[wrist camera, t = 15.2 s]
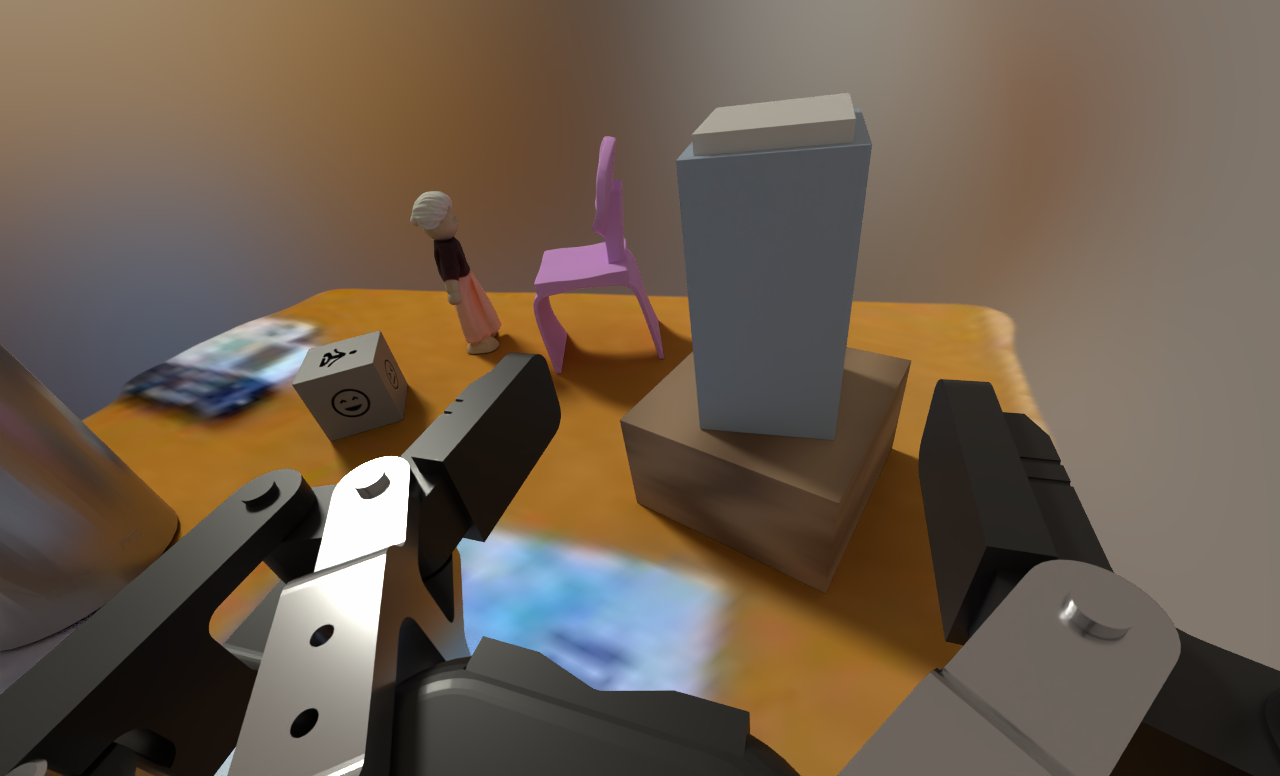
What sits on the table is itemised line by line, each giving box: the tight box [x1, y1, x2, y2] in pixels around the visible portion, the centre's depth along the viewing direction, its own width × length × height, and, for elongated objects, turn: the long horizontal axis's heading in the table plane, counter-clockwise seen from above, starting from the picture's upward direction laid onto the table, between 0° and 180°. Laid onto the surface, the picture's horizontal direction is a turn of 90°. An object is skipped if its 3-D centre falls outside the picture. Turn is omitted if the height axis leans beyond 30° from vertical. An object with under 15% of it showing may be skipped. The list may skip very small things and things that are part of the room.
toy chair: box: [534, 137, 664, 374], centre depth 36 cm, size 8×9×15 cm
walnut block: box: [620, 347, 911, 594], centre depth 25 cm, size 10×10×6 cm
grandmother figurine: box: [410, 192, 501, 354], centre depth 40 cm, size 8×4×13 cm, turn 26°
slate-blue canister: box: [676, 93, 872, 440], centre depth 19 cm, size 6×6×12 cm
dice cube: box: [292, 331, 408, 441], centre depth 36 cm, size 5×5×5 cm
